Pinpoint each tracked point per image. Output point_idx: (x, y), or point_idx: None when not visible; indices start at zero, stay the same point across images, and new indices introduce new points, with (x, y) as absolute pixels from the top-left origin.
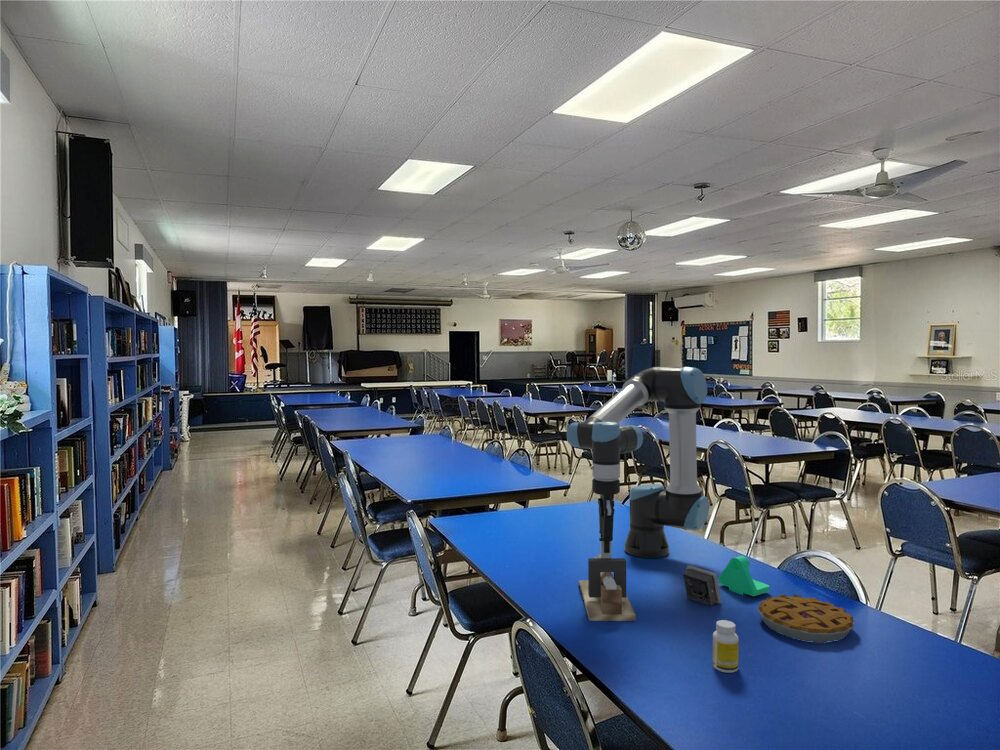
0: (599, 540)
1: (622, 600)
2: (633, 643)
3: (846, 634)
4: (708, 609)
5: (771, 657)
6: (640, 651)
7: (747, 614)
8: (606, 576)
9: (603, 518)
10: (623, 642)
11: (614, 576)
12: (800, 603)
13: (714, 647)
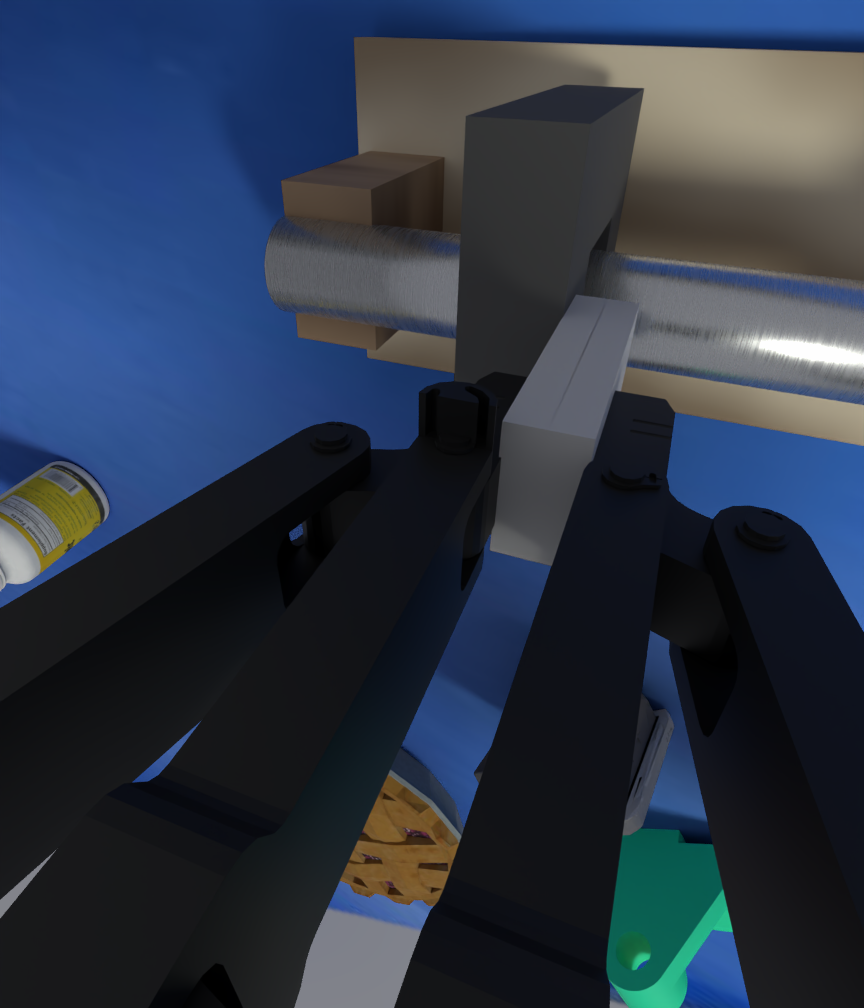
0: (476, 386)
1: None
2: (150, 249)
3: None
4: (495, 673)
5: None
6: (92, 257)
7: (443, 741)
8: (443, 280)
9: (185, 759)
10: (148, 201)
11: None
12: (381, 858)
13: (4, 496)
